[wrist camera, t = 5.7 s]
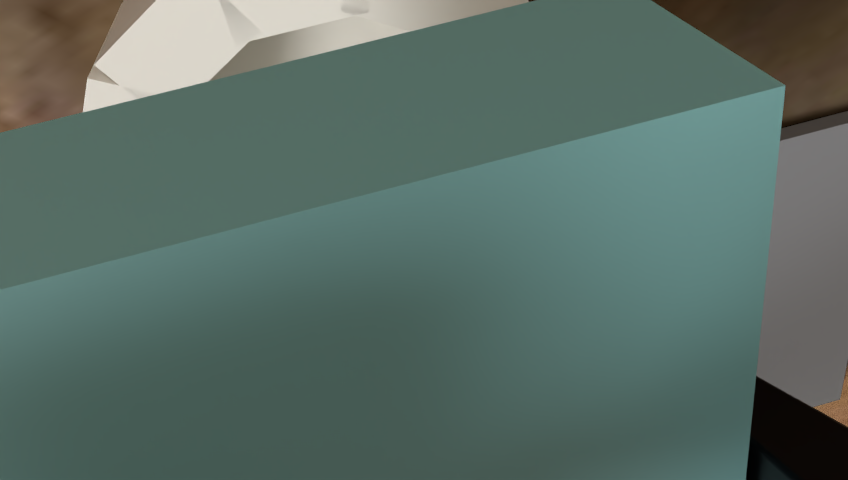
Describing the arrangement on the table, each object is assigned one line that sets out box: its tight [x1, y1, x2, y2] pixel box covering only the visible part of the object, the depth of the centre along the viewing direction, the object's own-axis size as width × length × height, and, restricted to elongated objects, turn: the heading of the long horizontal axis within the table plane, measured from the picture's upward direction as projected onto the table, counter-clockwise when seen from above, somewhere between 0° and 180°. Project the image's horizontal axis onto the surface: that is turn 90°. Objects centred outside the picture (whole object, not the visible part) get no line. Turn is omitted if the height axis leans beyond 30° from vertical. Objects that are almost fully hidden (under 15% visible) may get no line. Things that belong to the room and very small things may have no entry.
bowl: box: [83, 0, 529, 112], centre depth 17 cm, size 10×10×4 cm
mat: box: [756, 111, 848, 407], centre depth 25 cm, size 12×9×1 cm
